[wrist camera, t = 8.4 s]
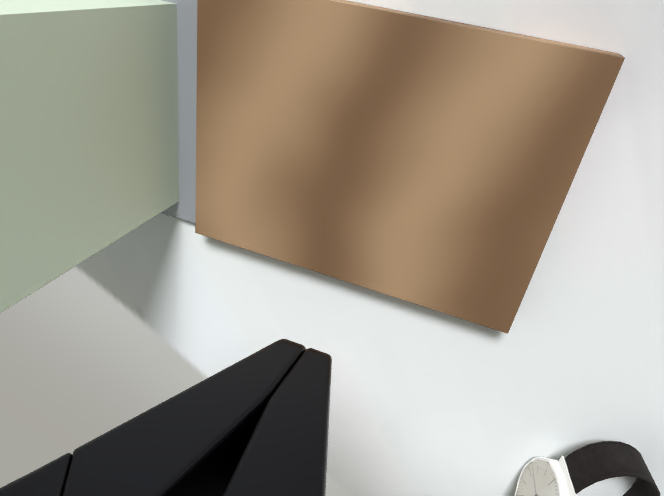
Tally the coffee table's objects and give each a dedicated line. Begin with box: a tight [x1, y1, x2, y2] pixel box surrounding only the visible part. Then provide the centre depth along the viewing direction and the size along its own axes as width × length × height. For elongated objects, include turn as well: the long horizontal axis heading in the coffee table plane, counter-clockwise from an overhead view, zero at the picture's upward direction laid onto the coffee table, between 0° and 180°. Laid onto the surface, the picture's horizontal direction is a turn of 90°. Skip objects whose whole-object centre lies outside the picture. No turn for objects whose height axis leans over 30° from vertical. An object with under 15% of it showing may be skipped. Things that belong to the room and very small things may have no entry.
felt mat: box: [161, 0, 197, 223], centre depth 21 cm, size 10×10×1 cm
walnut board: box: [195, 0, 625, 333], centre depth 18 cm, size 14×10×1 cm
